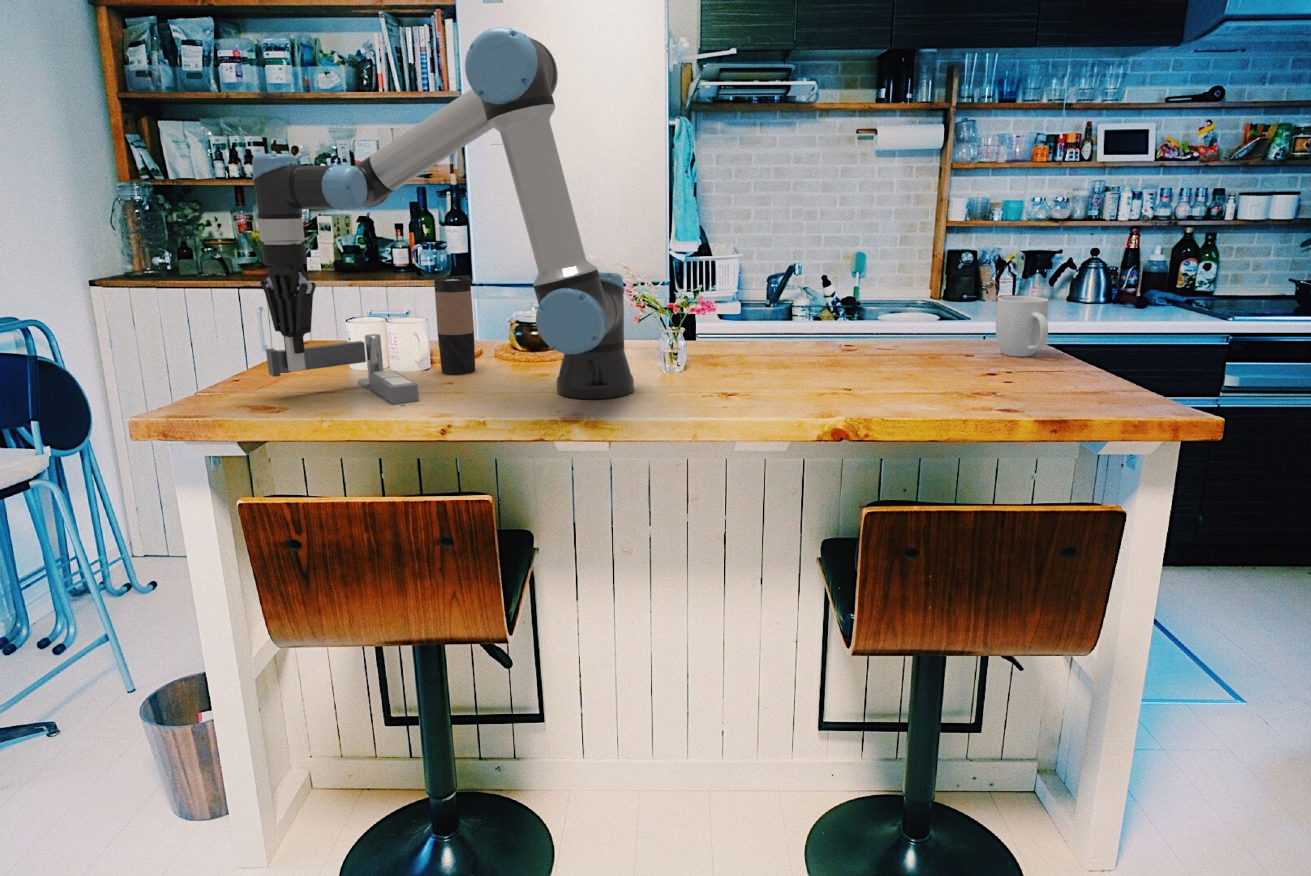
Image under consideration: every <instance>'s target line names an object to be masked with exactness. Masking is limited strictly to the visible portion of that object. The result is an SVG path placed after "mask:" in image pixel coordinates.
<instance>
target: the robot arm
mask: <svg viewBox="0 0 1311 876" xmlns="http://www.w3.org/2000/svg"><path fill="white" fill-rule="evenodd" d="M464 70H465V77H466V80H467V82H468V84H469V86H470V89H469V90H468V91H466V92H465V93H463V94H461V95H459V96H458V97H457V98H455V99H454V100H452V101H450V102H449V103H448V104H446V105H445V106H443V107H441V108H440V109H439V110H437V111H436V112H434V113H433V114H431V115H430V116H428V117H427V118H425V119H423V120H422V121H421V122H419V123H418V124H416V125H414V126H413V127H411V128H410V129H408V130H407V131H405V132H404V133H402V134H401V135H400V136H398V137H396V138H395V139H393V140H392V141H391V142H389V143H387V144H385V145H384V146H383V147H381V148H380V149H378V150H377V151H376V152H374V153H372V154H371V155H369V156H367V158H365V159H363V160H361V161H360V162H359V163H356V164H355V165H346V164H334V165H333V164H332V165H301V164H300V165H299V163H298V161H297V160H298V159H297V158H296V156H295V155H294V154H291V153H290V154H288V153H258V154H254V156H253V157H252V160H251V161H252V162H251V165H252V166H251V168H252V182H253V186H254V187H253V189H254V194H255V195H254V196H255V202H256V209H257V224H258V225H257V226H258V232H259V233H258V234H259V240H260V242H263V244H261V246H260V247H261V256H262V258H261V259H262V263H263V264H264V265H265V266H268V272H267V273H268V274H267V275H268V277H267V278H265V279H261V280H260V281H259V282H260V283H259V284H260V286H261V288H262V290H263V292H264V295H265V298H266V302H267V305H268V310H269V314H270V317H271V321H272V324H273V329H274V331H275V332H278V333H279V332H280V334H281V335H282V336H283V341H284V342H283V343H284V350H286V353H287V362H288V370H289V371H293V372H300V371H299V370H301V371H305V370H304V369H306V368H305V359H304V351H305V349H304V347H305V342H304V341H305V340H304V336H305V335H306V334H309V333H311V332H312V318H313V304H314V303H313V301H314V294H315V291H316V287H317V285H316V283H315V282H314V281H312V282H309V281H308V279H306V273H305V271H304V267H303V266H304V265H306V263H307V262H308V259H307V258H308V257H307V250H306V248H307V247H306V245H305V243H302V241H304V240H305V232H304V224H303V222H304V221H303V210H338V211H346V210H347V211H349V210H356V209H357V210H358V209H360V208H369V209H371V208H376V207H377V206H381V205H383V204H384V203H386V202H387V201H388V200H389V198H390V196H391V194H392V193H393V192H395V191H397V190H398V189H399V188H401V187H403V186H404V185H406V184H408V183H409V182H411V181H412V180H414V179H416V178H417V177H419V176H420V175H422V174H423V173H425V172H426V171H428V170H429V169H431V168H432V167H434V166H436V165H437V164H439V163H441V162H443V161H444V160H445V159H447V158H448V157H450V156H451V155H453V154H455V153H456V152H457V151H459V150H462V149H463V148H464V147H465V146H467V145H468V144H470V143H472V142H473V141H475V140H477V139H478V138H479V137H481V136H483V135H485V134H486V133H488V132H489V131H490V130H492V129H495V130H496V131H498V132H499V134H500V138H501V140H502V144H503V149H504V153H505V155H506V159H507V162H508V165H509V166H508V167H509V170H510V174H511V177H512V180H513V184H514V188H515V191H516V195H517V199H518V203H519V206H520V210H521V213H522V217H523V221H524V224H525V228H526V231H527V232H526V233H527V235H528V239H529V243H530V246H531V250H532V253H533V256H534V261H535V265H536V268H537V271H538V273H537V276H536V277H535V279H534V281H533V284H532V285H533V289H534V290H533V291H534V293H535V296H536V300H537V303H538V306H537V308H536V309H537V310H536V313H535V325H536V329H537V332H538V334H539V335H540V338H541V339H542V341H544V343H545V344H546V345H547V346H548V347H550V348H551V349H553V350H554V351H556V352H559V353H561V354H563V357H562V361H561V365H560V368H559V374H558V376H557V378H556V393H557V394H558V395H561V396H563V397H567V398H574V399H584V400H597V399H598V400H599V399H600V400H601V399H602V400H603V399H612V398H618V397H623V396H627V395H630V394H631V393H633V392H634V390H635V387H634V386H635V385H634V384H635V382H634V377H633V374H631V370H630V365H629V363H628V359H627V355H626V353H625V311H624V310H625V306H624V305H625V304H624V300H625V299H624V294H625V287H624V281H623V280H624V279H623V277H622V275H621V274H620V273H617V272H603V271H602V272H601V271H599V270H598V266H595V265H594V264H593V263H591V262H590V261H588V260H587V258H586V255H585V251H584V247H583V243H582V240H581V234H580V231H579V228H578V225H577V221H576V216H575V213H574V209H573V205H572V201H571V197H570V194H569V189H568V186H567V183H566V182H567V181H566V178H565V175H564V174H565V173H564V170H563V167H562V163H561V159H560V154H559V152H558V148H557V143H556V140H555V136H554V133H553V129H552V126H551V117H552V116H553V114H554V112H555V109H556V105H555V100H554V97H553V94H554V92H555V90H556V87H557V84H558V80H559V79H558V77H559V76H558V75H559V73H558V67H557V63H556V61H555V58H554V56H553V54H552V53H551V51H550V50H549V49H548V48H547V47H546V46H545V45H544V44H543V43H541V42H540V41H538V40H536V39H534V38H531V37H530V36H528V35H526V33H524V32H522V31H521V30H519V29H517V28H516V29H515V28H512V27H505V26H496V27H492V28H491V27H490V28H488V29H485V30H484V31H482V32H481V33H480V34H479V35H477V36H476V37H475V38H474V39H473V40H472V43H471V44H470V45H469V48H468V50H467V52H466V56H465V61H464Z"/></svg>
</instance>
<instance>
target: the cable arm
mask: <svg viewBox="0 0 1311 876" xmlns="http://www.w3.org/2000/svg"><path fill="white" fill-rule="evenodd" d="M304 349H305V351H304V359H305V368H306V369H304V370H303V371H306V370H307V371H308V370H314V369H323V368H330V367H331V368H333V367H338V366H339V367H341V366H346V365H353V364H354V365H355V364H360V363H367V355H366V345H365V341H362V340H358V341H349V342H341V343H331V344H323V345H316V346H314V345H313V346H306V347H305V346H304ZM265 352H266V353H265V354H266V355H265V356H266V362H267V369H268V370H267V371H268V374H269V375H270V376H272V377H273V378H275V377H281V375H282V374H285V373H292V372H293V371H289V370H288V362H287V353H286V350H285V349H279V350H276V349H274V348H266V349H265ZM300 371H302V370H299V371H298V372H300Z"/></svg>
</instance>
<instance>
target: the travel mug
mask: <svg viewBox="0 0 1311 876" xmlns="http://www.w3.org/2000/svg"><path fill="white" fill-rule="evenodd" d="M433 281H434V283H433V284H434V296H435V297H434V298H435V312H436V313H435V314H436V315H435V316H436V326H437V327H436V328H437V330H436V331H437V340H438V350H439V351H438V352H439V358H440V369H441V373H442V374H444V375H447V376H460V375H461V376H463V375H468V374H469V375H470V374H473V373H474V372H475V371H476V351H475V349H476V347H475V327H474V324H475V323H474V313H473V310H474V309H473V300H472V287H471V278H470V277H466V276H452V277H451V278H449V279H442V278H441V277H436V278H434V280H433Z"/></svg>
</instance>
